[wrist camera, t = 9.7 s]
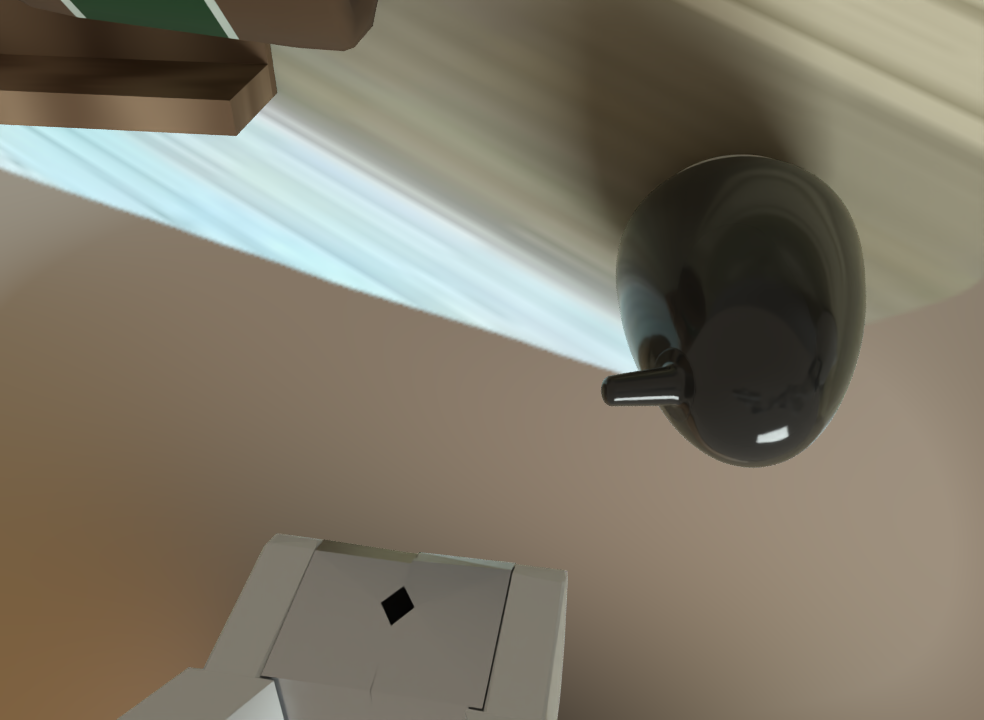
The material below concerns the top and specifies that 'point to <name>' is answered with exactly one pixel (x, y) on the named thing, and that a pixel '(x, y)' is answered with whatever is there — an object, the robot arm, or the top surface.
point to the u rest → (126, 75)
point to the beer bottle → (237, 18)
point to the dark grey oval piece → (741, 307)
